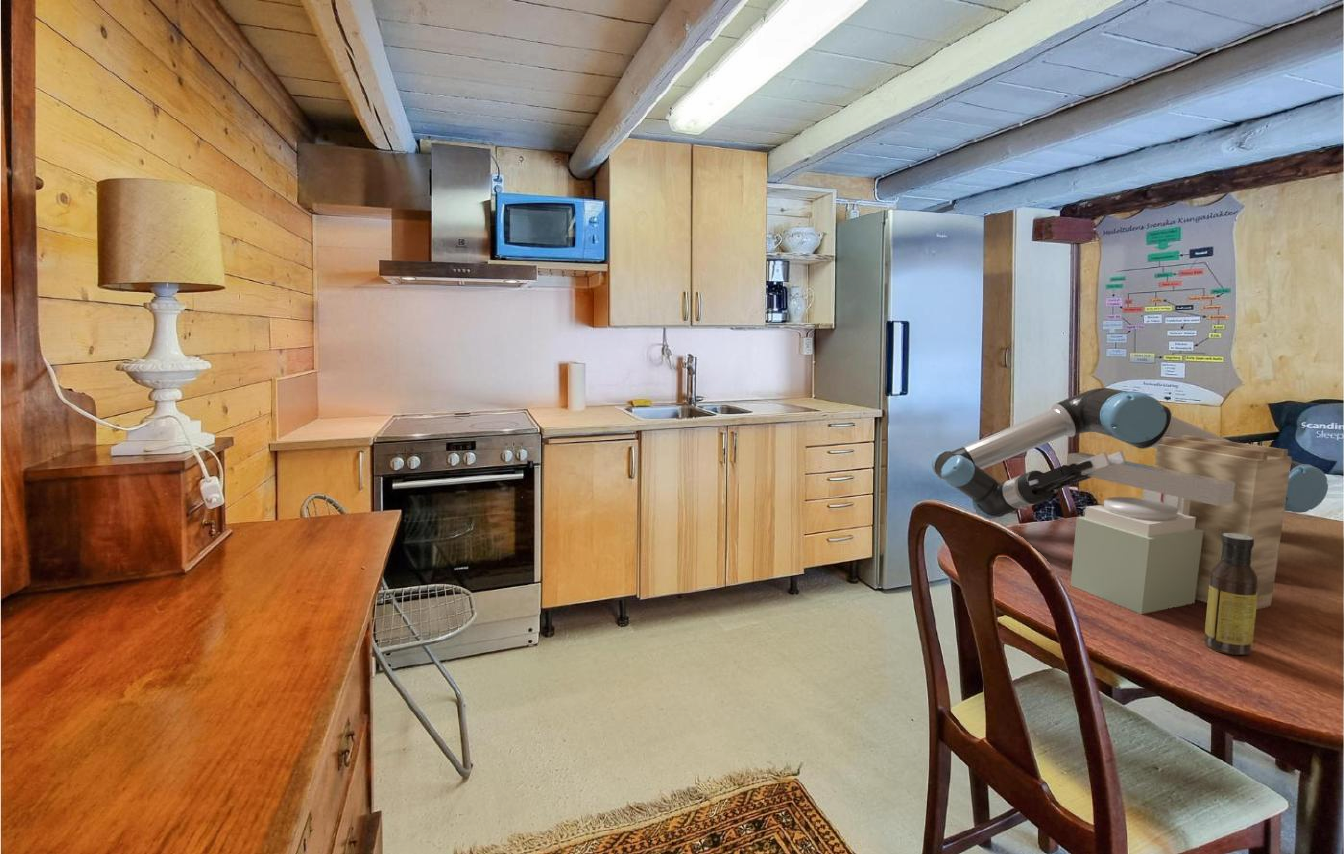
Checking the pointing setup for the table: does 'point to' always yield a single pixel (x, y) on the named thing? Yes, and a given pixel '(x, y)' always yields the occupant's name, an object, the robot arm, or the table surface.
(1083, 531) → the block
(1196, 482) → the bar
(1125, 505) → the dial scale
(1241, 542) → the sauce bottle
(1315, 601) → the table surface
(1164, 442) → the birch stand
